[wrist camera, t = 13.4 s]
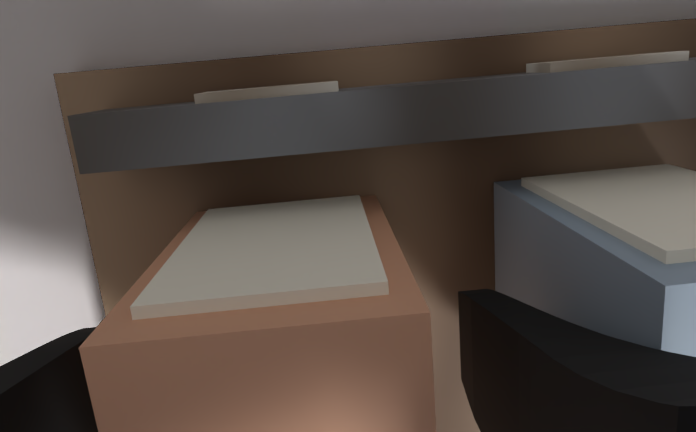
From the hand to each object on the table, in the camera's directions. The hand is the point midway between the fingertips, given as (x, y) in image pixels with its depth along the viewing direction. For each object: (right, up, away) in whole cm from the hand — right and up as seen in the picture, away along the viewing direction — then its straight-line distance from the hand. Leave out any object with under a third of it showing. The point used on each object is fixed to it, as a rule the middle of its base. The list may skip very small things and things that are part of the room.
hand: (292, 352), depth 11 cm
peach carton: (0, +1, +3) cm, 3 cm away
